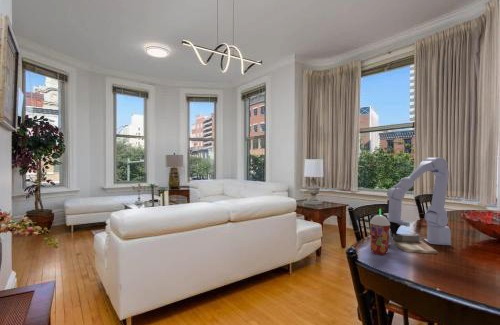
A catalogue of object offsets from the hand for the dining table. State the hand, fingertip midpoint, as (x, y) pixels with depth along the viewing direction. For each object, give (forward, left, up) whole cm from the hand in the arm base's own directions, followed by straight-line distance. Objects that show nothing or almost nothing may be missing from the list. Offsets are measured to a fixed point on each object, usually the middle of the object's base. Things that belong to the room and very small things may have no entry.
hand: (393, 237), depth 139 cm
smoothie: (+13, +20, -3) cm, 24 cm away
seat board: (-6, +7, -2) cm, 10 cm away
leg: (-5, +3, -1) cm, 6 cm away
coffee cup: (+10, +8, -3) cm, 13 cm away
